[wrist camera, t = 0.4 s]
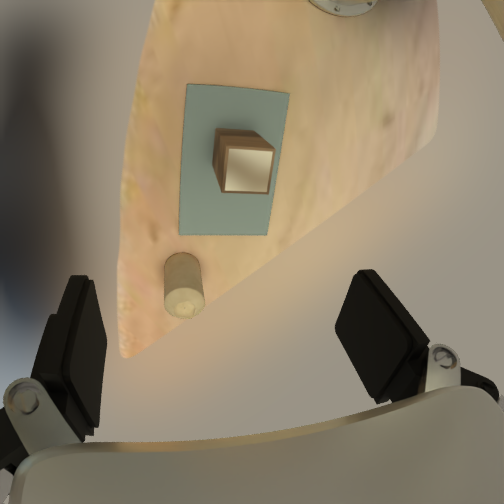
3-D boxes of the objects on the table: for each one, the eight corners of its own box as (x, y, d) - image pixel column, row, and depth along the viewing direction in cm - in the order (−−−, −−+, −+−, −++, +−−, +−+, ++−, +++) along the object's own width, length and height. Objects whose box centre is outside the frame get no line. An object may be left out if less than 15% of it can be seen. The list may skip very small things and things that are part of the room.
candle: (206, 271, 50) (213, 315, 41) (177, 286, 50) (179, 331, 42) (187, 246, 47) (191, 288, 38) (157, 263, 47) (155, 307, 39)
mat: (187, 84, 34) (187, 84, 34) (288, 93, 37) (289, 93, 37) (179, 233, 45) (179, 235, 45) (265, 233, 48) (266, 235, 48)
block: (215, 127, 38) (226, 145, 29) (254, 130, 39) (276, 149, 31) (212, 164, 40) (221, 193, 32) (249, 166, 41) (268, 194, 33)
